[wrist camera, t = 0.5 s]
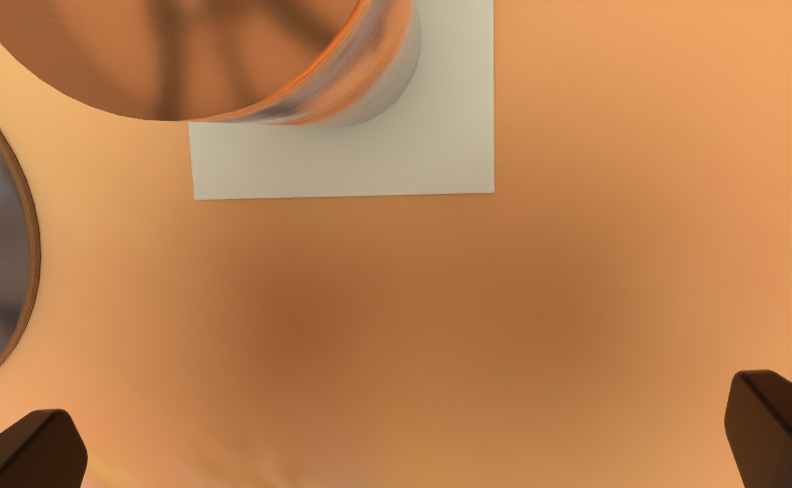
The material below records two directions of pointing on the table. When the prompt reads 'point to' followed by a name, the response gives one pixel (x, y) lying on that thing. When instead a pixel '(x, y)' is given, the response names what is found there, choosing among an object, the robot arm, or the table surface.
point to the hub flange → (16, 251)
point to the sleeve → (221, 56)
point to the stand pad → (375, 129)
